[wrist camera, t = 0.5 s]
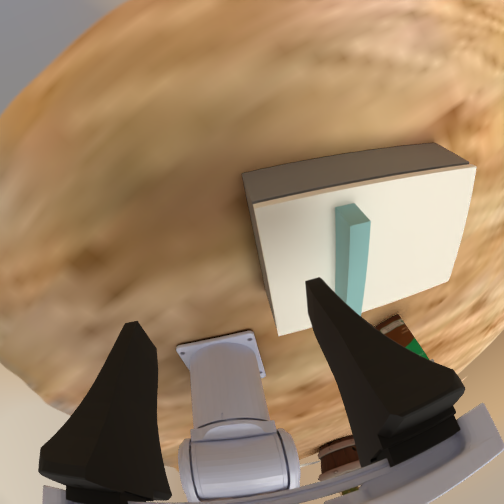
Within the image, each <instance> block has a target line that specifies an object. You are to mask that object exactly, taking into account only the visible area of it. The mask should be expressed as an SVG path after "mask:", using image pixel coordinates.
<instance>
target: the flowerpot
mask: <svg viewBox="0 0 504 504" xmlns="http://www.w3.org/2000/svg"><path fill="white" fill-rule="evenodd" d="M318 457H319V459H320V460H321V471H322V474H321V475H320V476H319V479H318V480H320V481H324V480H327V479H330V478H334V477H337V476H340V475H343V474H346V473H349V472H352V471H355V470H357V469H360V468H361V465H360V462H359V458H358V453H357V449H356V445H355V441H354V437H353V436H348V437H344V438H341V439H340V440H339V439H338V440H335V441H333V442H332V443H331V444H326V445H324V446H322V447H321V449H320V452H319V454H318ZM358 488H359V487H358V486H356V487H354V488H351V489H348V490H345V491H342V495H345V494H348V493H351V492H354V491H357V490H359V489H358ZM338 493H339V492H338Z"/></svg>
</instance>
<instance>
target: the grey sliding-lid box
mask: <svg viewBox="0 0 504 504" xmlns="http://www.w3.org/2000/svg"><path fill="white" fill-rule="evenodd" d="M467 164H469V162H468V161H466V160H465V159H463V158H461V157H460V156H458V155H456V154H455V153H453V152H451V151H449V150H447V149H446V148H444V147H442V146H440V145H438V144H437V143H426V144H416V145H406V146H397V147H389V148H381V149H373V150H366V151H359V152H352V153H346V154H339V155H333V156H327V157H321V158H316V159H310V160H305V161H299V162H294V163H289V164H284V165H279V166H274V167H269V168H264V169H260V170H255V171H251V172H246V173H242V178H243V183H244V188H245V192H246V197H247V202H248V207H249V212H250V216H251V221H252V226H253V231H254V236H255V241H256V246H257V250H258V255H259V260H260V265H261V270H262V275H263V280H264V285H265V290H266V294H267V297H268V301H269V304H270V308H271V311H272V315H273V318H274V322H275V316H274V311H273V306H272V301H271V295H270V290H269V285H268V280H267V274H266V269H265V264H264V259H263V254H262V248H261V243H260V238H259V233H258V228H257V223H256V218H255V213H254V208H253V204H256V203H260V202H265V201H269V200H273V199H278V198H283V197H287V196H292V195H296V194H301V193H306V192H311V191H315V190H320V189H325V188H330V187H335V186H340V185H346V184H351V183H356V182H361V181H367V180H372V179H378V178H383V177H389V176H395V175H401V174H407V173H413V172H419V171H426V170H432V169H439V168H446V167H453V166H460V165H467ZM275 325H276V322H275ZM276 328H277V327H276Z"/></svg>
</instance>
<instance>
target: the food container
mask: <svg viewBox="0 0 504 504" xmlns="http://www.w3.org/2000/svg"><path fill="white" fill-rule="evenodd" d="M375 328H376V329H377V330H379V331H380V332H382V333H383V334H384V335H386V336H387V337H389V338H390V339H392V340H393V341H395V342H397V343H398V344H400V345H402V346H403V347H405V348H407V349H409V350H411V351H412V352H414V353H416V354H418V355H420V356H422V357H424V358H426V359H428V360H429V358H428V357H427V355H426V354H425V352H424V351H423V349H422V348H421V346H420V345H419V343H418V342H417V340H416V339H415V337H414V336H413V335H412V333H411V332H410V330H409V329H408V327H407V326H406V325H405V323H404V322H403V320H402V319H401V317H400V316H399V315H396V316H393V317H391V318H389V319H387V320H386V321H384V322H382V323H380V324H379V325H378V326H376V327H375ZM430 361H432V362H434V360H433V359H431V360H430Z"/></svg>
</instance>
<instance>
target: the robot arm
mask: <svg viewBox="0 0 504 504" xmlns="http://www.w3.org/2000/svg"><path fill="white" fill-rule="evenodd" d="M305 285H306V297H307V309H308V316H309V319H310V322H311V325H312V328H313V331H314V334H315V336H316V338H317V340H318V343H319V345H320V347H321V349H322V351H323V353H324V355H325V358H326V360H327V362H328V364H329V366H330V368H331V371H332V373H333V375H334V377H335V380H336V382H337V385H338V388H339V391H340V394H341V397H342V400H343V403H344V406H345V410H346V413H347V416H348V420H349V423H350V427H351V430H352V434H353V437H354V441H355V445H356V449H357V453H358V458H359V462H360V465H361V468H360V469H357V470H355V471H352V472H349V473H346V474H343V475H340V476H337V477H334V478H330V479H327V480H324V481H320V482H317V483H313V484H309V485H305V486H302V487H300V482H299V481H300V464H299V458H298V453H297V449H296V446H295V443H294V441H293V438H292V436H291V435H290V434H289V433H288V432H286V431H285V430H284V429H282V428H280V429H276V426H275V421H274V420H272V421H270V417H269V413H268V408H267V404H266V399H265V395H264V390H263V386H262V381H261V378H264V377H265V376H266V373H265V370H264V367H263V363H262V360H261V356H260V353H259V350H258V346H257V343H256V339H255V336H254V333H253V331H245V332H240V333H236V334H231V335H227V336H222V337H218V338H213V339H208V340H203V341H198V342H193V343H188V344H183V345H178V346H177V347H176V351H177V353H178V354H179V356H180V357H181V359H182V360H183V362H184V363H185V365H186V366H187V368H188V369H189V371H190V379H191V397H192V411H193V424H194V429H191V430H190V431H191V438H187V439H184V440H183V442H182V443H181V444H180V446H179V451H178V464H179V473H180V479H181V483H182V487H183V490H184V492H185V494H186V496H187V500H188V502H185V503H154V502H146V501H153V500H169V499H170V498H171V496H172V493H171V491H170V487H169V484H168V480H167V476H166V472H165V468H164V463H163V459H162V454H161V448H160V441H159V434H158V425H157V389H158V360H157V349H156V347H155V346H154V344H153V343H152V341H151V340H150V339H149V337H148V336H147V334H146V333H145V331H144V330H143V329H142V327H141V326H140V324H139V323H138V321H134V322H129V323H125V325H124V327H123V328H122V330H121V332H120V334H119V336H118V338H117V340H116V342H115V344H114V346H113V348H112V350H111V352H110V354H109V356H108V358H107V360H106V362H105V364H104V366H103V367H102V369H101V371H100V373H99V375H98V376H97V378H96V380H95V382H94V383H93V385H92V387H91V388H90V390H89V392H88V393H87V395H86V396H85V398H84V399H83V401H82V402H81V404H80V405H79V406H78V408H77V409H76V410H75V411H74V413H73V414H72V415H71V417H70V418H69V419H68V420H67V422H66V423H65V424H64V425H63V426H62V427H61V428H60V430H59V431H58V432H57V433H56V434H55V435H54V436H53V437H52V438H51V439H50V440H49V441H48V442H47V443H45V444H44V445H43V446H42V447H41V450H40V459H39V469H38V471H39V473H40V474H41V475H42V476H45V477H47V478H49V479H51V480H53V481H56V482H58V483H61V484H63V485H66V490H63V489H59V488H54V487H50V486H46V485H44V486H43V504H299V503H302V502H306V501H310V500H314V499H318V498H322V497H325V496H329V495H332V494H335V493H338V492H342V491H345V490H348V489H351V488H354V487H356V486H359V485H361V486H360V487H359V490H357V491H354V492H351V493H348V494H345V495H343V496H340V497H337V498H334V499H331V500H328V501H325V502H324V504H428V503H430V502H431V501H433V500H435V499H437V498H438V497H440V496H441V495H443V494H445V493H446V492H448V491H449V490H451V489H452V488H454V487H455V486H457V485H458V484H460V483H461V482H462V481H464V480H465V479H466V478H468V477H470V476H471V475H472V474H474V473H475V472H476V471H477V470H479V469H480V468H482V467H483V466H484V465H486V464H487V463H488V462H490V461H491V460H492V459H493V458H495V457H496V456H497V455H499V454H500V453H501V452H502V451H503V450H504V443H503V441H502V439H501V437H500V435H499V432H498V430H497V428H496V426H495V424H494V422H493V420H492V418H491V417H490V414H489V412H488V410H487V409H486V406H485V405H484V403H481V404H479V405H478V406H476V407H475V408H473V409H472V410H471V411H469V412H467V413H466V414H464V415H463V416H461V417H460V418H458V419H457V420H456V419H455V417H454V414H455V413H456V411H455V409H454V407H453V405H454V404H455V403H456V402H457V401H458V399H459V398H460V397H461V396H462V395H463V393H464V391H465V387H464V385H463V383H462V382H461V380H460V378H459V377H458V375H457V374H456V373H455V371H454V370H453V369H450V368H448V367H445V366H442V365H440V364H437V363H435V362H432V361H430V360H428V359H426V358H424V357H422V356H420V355H418V354H416V353H414V352H412V351H411V350H409V349H407V348H405V347H403V346H402V345H400V344H398V343H397V342H395V341H393V340H392V339H390V338H389V337H387V336H386V335H384V334H383V333H382V332H380V331H379V330H377V329H376V328H375V327H373V326H372V325H371V324H369V323H368V322H367V321H366V320H365V319H363V318H362V317H361V316H360V315H359V314H357V313H356V312H355V311H354V310H353V309H352V308H351V307H350V306H348V305H347V304H346V303H345V302H344V301H343V300H342V299H341V298H340V297H339V296H338V295H337V294H336V293H335V292H334V291H333V290H332V289H331V288H330V287H329V286H328V285H327V284H326V283H325V281H324V280H323V279H322V278H320V277H318V278H314V279H311V280H307V281H305Z"/></svg>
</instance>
